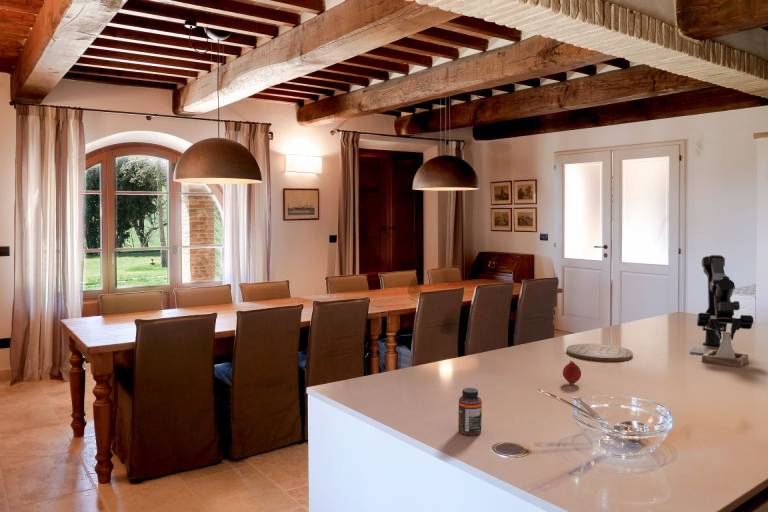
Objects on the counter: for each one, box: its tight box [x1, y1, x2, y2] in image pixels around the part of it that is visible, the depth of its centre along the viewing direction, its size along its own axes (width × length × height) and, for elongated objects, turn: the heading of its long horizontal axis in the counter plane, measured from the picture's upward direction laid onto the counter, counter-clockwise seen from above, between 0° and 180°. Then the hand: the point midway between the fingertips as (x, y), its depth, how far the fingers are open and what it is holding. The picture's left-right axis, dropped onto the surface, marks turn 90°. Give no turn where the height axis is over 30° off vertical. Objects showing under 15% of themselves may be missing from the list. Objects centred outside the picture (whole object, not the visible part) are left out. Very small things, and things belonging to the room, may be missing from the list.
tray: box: [701, 349, 749, 368], centre depth 239 cm, size 13×13×2 cm
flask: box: [716, 331, 736, 359], centre depth 239 cm, size 7×7×10 cm
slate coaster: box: [689, 347, 712, 356], centre depth 253 cm, size 9×9×1 cm
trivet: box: [566, 343, 634, 363], centre depth 250 cm, size 25×25×2 cm
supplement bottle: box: [457, 387, 483, 437], centre depth 163 cm, size 6×6×11 cm
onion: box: [562, 359, 582, 385], centre depth 207 cm, size 6×6×8 cm
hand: (726, 339), depth 237 cm, fingers open, 3 cm apart
